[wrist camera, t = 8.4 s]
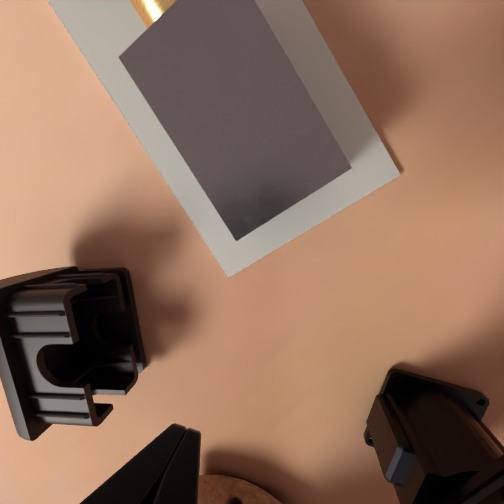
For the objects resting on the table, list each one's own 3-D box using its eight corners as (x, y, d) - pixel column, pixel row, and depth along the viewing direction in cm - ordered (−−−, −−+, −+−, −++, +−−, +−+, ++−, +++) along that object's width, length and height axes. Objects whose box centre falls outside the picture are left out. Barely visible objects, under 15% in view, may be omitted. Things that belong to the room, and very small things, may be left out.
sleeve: (334, 177, 16) (352, 168, 11) (251, 230, 18) (236, 241, 13) (246, 27, 15) (226, -49, 11) (166, 97, 17) (118, 57, 12)
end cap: (52, 265, 21) (-56, 294, 15) (128, 260, 20) (47, 289, 13) (77, 372, 23) (-8, 440, 16) (149, 373, 22) (87, 447, 15)
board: (398, 175, 16) (400, 174, 15) (229, 276, 19) (228, 277, 19) (119, -320, 13) (115, -331, 13) (-24, -111, 16) (-29, -117, 16)
